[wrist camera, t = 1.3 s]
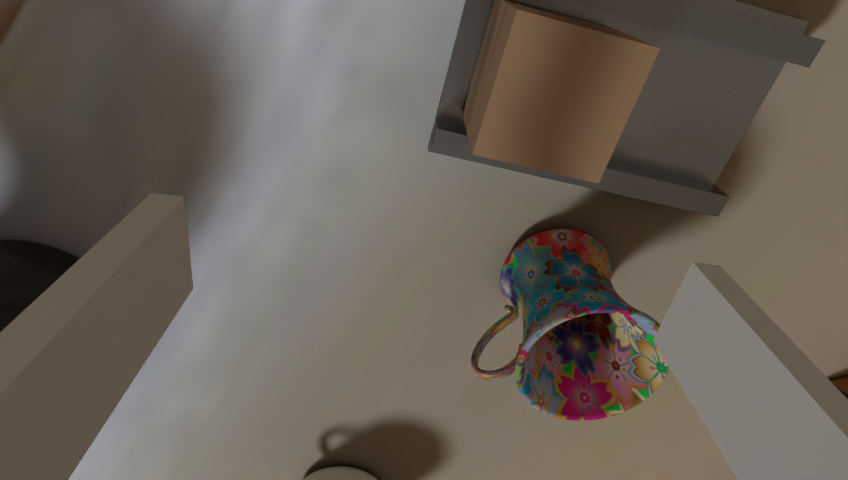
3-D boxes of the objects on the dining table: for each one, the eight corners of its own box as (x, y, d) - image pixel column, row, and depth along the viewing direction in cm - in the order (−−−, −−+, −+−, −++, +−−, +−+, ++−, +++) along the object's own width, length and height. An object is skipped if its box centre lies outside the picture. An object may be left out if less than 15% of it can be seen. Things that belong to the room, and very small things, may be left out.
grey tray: (427, 147, 34) (428, 162, 31) (484, -72, 27) (490, -74, 25) (693, 208, 36) (712, 225, 34) (802, 20, 30) (833, 26, 28)
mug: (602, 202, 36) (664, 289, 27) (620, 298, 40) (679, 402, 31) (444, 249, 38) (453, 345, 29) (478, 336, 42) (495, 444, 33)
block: (462, 114, 32) (472, 154, 25) (496, -4, 28) (516, 9, 22) (565, 139, 32) (598, 183, 26) (610, 27, 29) (660, 48, 23)
